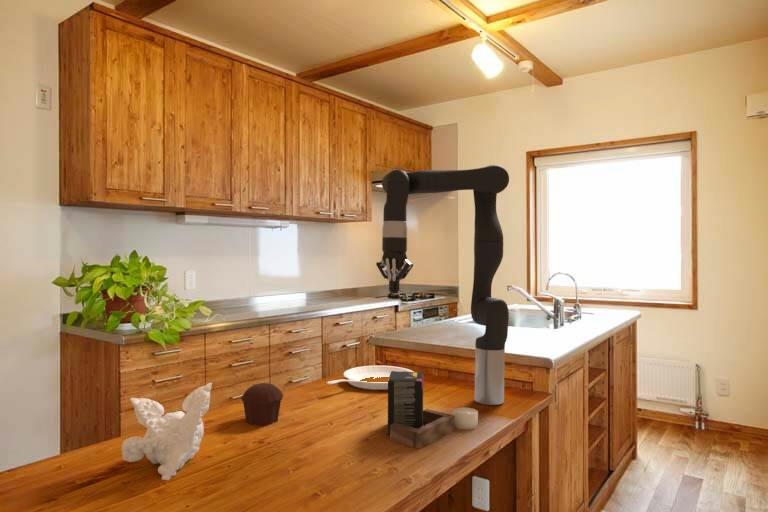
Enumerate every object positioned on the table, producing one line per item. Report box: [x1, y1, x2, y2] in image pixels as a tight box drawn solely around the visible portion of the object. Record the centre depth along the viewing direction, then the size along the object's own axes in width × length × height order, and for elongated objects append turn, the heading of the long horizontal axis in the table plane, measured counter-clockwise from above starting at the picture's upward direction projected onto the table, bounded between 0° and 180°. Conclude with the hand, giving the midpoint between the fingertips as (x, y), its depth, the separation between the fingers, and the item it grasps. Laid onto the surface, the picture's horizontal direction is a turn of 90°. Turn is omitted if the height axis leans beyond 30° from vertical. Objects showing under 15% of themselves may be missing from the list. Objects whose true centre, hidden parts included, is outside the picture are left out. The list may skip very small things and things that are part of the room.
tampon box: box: [387, 371, 424, 436], centre depth 140 cm, size 11×9×15 cm
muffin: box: [240, 382, 284, 426], centre depth 146 cm, size 12×11×10 cm
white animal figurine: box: [121, 382, 213, 481], centre depth 117 cm, size 19×20×20 cm
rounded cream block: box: [451, 406, 479, 431], centre depth 144 cm, size 7×7×4 cm
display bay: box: [389, 408, 456, 450], centre depth 135 cm, size 17×9×4 cm, turn 142°
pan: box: [326, 365, 414, 391], centre depth 184 cm, size 26×39×5 cm
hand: (394, 293), depth 159 cm, fingers closed
